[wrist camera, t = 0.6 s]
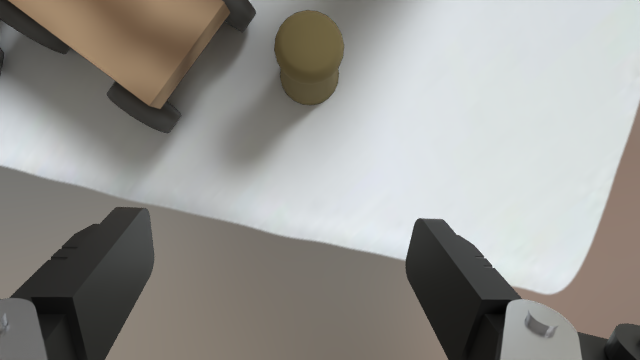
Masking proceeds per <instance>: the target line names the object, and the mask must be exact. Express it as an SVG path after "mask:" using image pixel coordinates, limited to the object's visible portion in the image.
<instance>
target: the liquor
mask: <svg viewBox="0 0 640 360" xmlns="http://www.w3.org/2000/svg"><path fill="white" fill-rule="evenodd" d="M3 56H4V53H3V51H2V50H1V48H0V74H1V68H2V62H3Z"/></svg>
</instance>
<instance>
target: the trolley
mask: <svg viewBox="0 0 640 360" xmlns="http://www.w3.org/2000/svg"><path fill="white" fill-rule="evenodd" d="M255 15H256V11H255V9H254V8H253V6H252V5H251V3H250V2H249V1H248V0H0V19H1V20H2V21H4V22H5V23H7V24H8V25H10V26H11V27H13V28H14V29H16V30H17V31H19V32H21V33H22V34H24V35H25V36H27V37H29V38H31V39H32V40H34V41H36V42H38V43H40V44H42V45H44V46H46V47H48V48H50V49H52V50H54V51H56V52H59V53H62V54H66V53H67V52H68V50H69V49H70V48H72V49H74V50H75V51H76V52H78V53H79V54H80V55H82V56H83V57H84V58H86V59H87V60H88V61H90V62H91V63H92V64H94V65H95V66H96V67H98V68H99V69H100V70H102V71H103V72H104V73H106V74H107V75H108V76H110V77H111V78H112V79H114V80H115V83H114V84H113V85H112V87H111V88H110V90H109V91H108V92H107V96H108V97H109V99H110V100H111V101H112V102H113V103H115V104H116V105H117V106H118V107H119V108H121V109H122V110H123V111H125V112H126V113H128V114H129V115H131V116H132V117H134V118H135V119H137V120H139V121H140V122H142V123H144V124H146V125H148V126H149V127H151V128H154V129H156V130H158V131H161V132H164V133H169V132H170V131H171V130H172V128H173V127H174V125H175V124H176V123H177V121H178V120H179V119H180V117H181V116H182V115H181V113H180V112H179V111H178V110H177V109H176V108H175V107H174V106H172V105H171V104H170V103H169V102H167V99H168V98H169V96H170V95H171V94H172V92H173V91H174V90H175V88H176V87H177V85H178V84H179V83H180V81H181V80H182V79H183V77H184V76H185V74H186V73H187V72H188V70H189V69H190V68H191V66H192V65H193V63H194V62H195V61H196V59H197V58H198V57H199V55H200V54H201V52H202V51H203V50H204V48H205V47H206V46H207V44H208V43H209V41H210V40H211V39H212V37H213V36H214V35H215V33H216V32H217V30H218V29H219V28H220V26H221V25H222V24H223V22H224V21H226V22H227V23H228V24H230V25H231V26H232V27H234V28H235V29H237V30H239V31H241V32H243V31H244V30H245V29H246V27H247V26H248V24H249V23H250V22H251V20H252V19H253V18H254V16H255Z"/></svg>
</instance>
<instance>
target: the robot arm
mask: <svg viewBox="0 0 640 360" xmlns="http://www.w3.org/2000/svg"><path fill="white" fill-rule="evenodd" d="M153 264H154V248H153V240H152V232H151V222H150V215H149V212H148V210H147V209H146V208H130V207H116V208H115V209H114V210H113V211H112V212H111V213H110V214H109V215H108V216H107V217H106V218H105V219H104V220H103V221H102V222H101V223H100V224H93V225H91V226H89V227H87V228H85V229H83V230H81V231H80V232H78V233H76V234H74V236H72V237H71V238H70V239H69V240H68V241H67V242H66V243H65V244H64V245H63V246H62V249H59V250H58V251H57V252H56V253H55V254H54V255H53V256H52V257H51V260H48V261H47V262H46V263H45V264H44V265H42V266H41V268H39V269H38V270H37V272H35V273H34V274H33V275H32V276H31V277H30V278H29V279H28V280H27V281H26V282H25V283H24V284H23V285H22V286H21V287H20V288H19V289H18V290H17V291H16V292H15V293H14V294H13V295H12V296H11V297H10V298H7V299H0V360H105V358H106V356H107V355H108V353H109V351H110V349H111V347H112V345H113V343H114V342H115V340H116V338H117V336H118V334H119V332H120V331H121V328H122V327H123V325H124V323H125V321H126V319H127V318H128V316H129V314H130V312H131V310H132V308H133V307H134V305H135V303H136V301H137V299H138V297H139V295H140V294H141V292H142V290H143V288H144V286H145V285H146V282H147V281H148V279H149V277H150V275H151V272H152V269H153ZM406 274H407V278H408V280H409V282H410V284H411V286H412V288H413V290H414V292H415V294H416V296H417V298H418V300H419V302H420V304H421V306H422V308H423V310H424V312H425V314H426V316H427V318H428V320H429V322H430V324H431V326H432V328H433V330H434V332H435V334H436V336H437V338H438V340H439V342H440V344H441V346H442V348H443V349H444V352H445V354H446V355H447V358H448V360H640V326H638V325H634V324H620V325H618V326H616V328H615V330H614V331H613V333H612V335H611V336H610V338H609V339H604V338H600V337H596V336H592V335H588V334H584V333H580V332H577V331H576V330H575V328H574V327H573V325H572V324H571V323H570V322H569V321H568V320H567V319H565V318H564V317H563V316H562V315H561V314H559V313H558V312H556V311H554V310H553V309H551V308H549V307H547V306H545V305H543V304H540V303H537V302H534V301H531V300H523V299H522V298H521V297H520V296H519V295H518V294H517V293H516V292H515V291H514V289H513V288H512V287H511V286H510V285H509V284H508V283H507V281H506V280H505V279H504V278H503V277H502V276H501V275H500V274H499V272H498V271H497V270H496V269H495V268H492V265H491V264H490V262H489V261H488V260H487V259H486V258H484V256H483V255H482V253H481V252H480V251H479V250H478V249H477V248H476V247H475V246H474V245H473V244H472V243H470V242H469V241H467V240H466V239H464V238H463V237H461V236H459V235H456V233H455V232H454V231H453V230H452V229H451V228H450V226H449V225H448V224H447V223H446V222H445V221H444V220H443V219H422V218H419V219H417V220H416V222H415V224H414V228H413V232H412V237H411V241H410V245H409V249H408V253H407V257H406Z"/></svg>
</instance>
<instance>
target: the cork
mask: <svg viewBox="0 0 640 360" xmlns="http://www.w3.org/2000/svg"><path fill="white" fill-rule="evenodd" d="M274 51H275V55H276V59H277V62H278V64H279V66H280V67H281V72H280V79H281V83H282V87H283V88H284V90H285V92H286V94H287V95H288V96H289V97H290V98H292V99H293V100H294V101H296V102H298V103H301V104H304V105H315V104H319V103H322V102H323V101H325V100H327V99H328V98H329V97H330V96H331V95H332V94H333V92H334V91H335V89H336V86H337V84H338V78H339V72H338V67H339V65H340V63H341V60H342V58H343V51H344V43H343V38H342V34H341V32H340V31H339V29H338V27H337V25H336V24H335V22H333V21H332V20H331V19H330V18H329V17H328V16H327V15H324V14H322V13H320V12H318V11H310V10H306V11H301V12H297V13H295V14H293V15H292V16H290V17H288V18H287V19H286V20H285V21H284V23H283V24H282V25H281V26H280V28H279V30H278V33H277V35H276V38H275V48H274Z"/></svg>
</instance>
